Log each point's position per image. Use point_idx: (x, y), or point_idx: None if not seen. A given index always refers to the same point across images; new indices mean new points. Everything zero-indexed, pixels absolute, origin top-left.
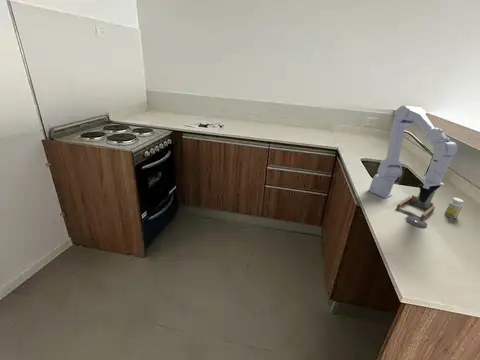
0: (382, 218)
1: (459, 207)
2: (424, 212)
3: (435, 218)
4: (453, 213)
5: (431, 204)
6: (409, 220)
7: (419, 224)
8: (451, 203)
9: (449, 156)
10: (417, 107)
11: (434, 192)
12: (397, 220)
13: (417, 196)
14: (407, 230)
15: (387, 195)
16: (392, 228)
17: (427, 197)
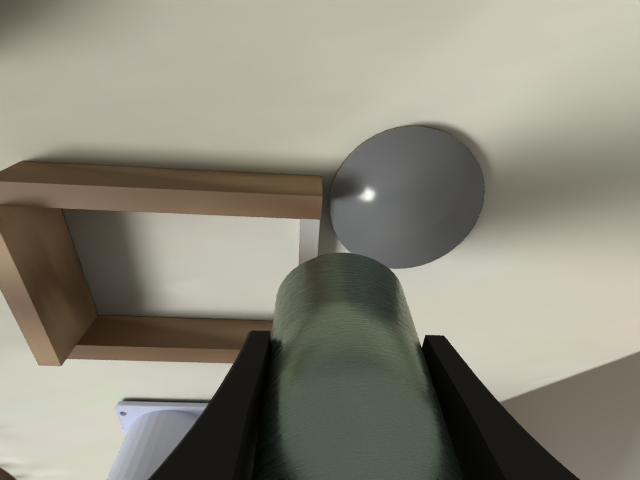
0: (527, 340)
1: None
2: (250, 215)
3: (152, 109)
4: None
5: (12, 221)
6: (440, 242)
7: (448, 177)
8: None
9: None
10: None
11: (399, 467)
12: (483, 286)
13: (28, 340)
14: (594, 207)
15: (185, 414)
16: (630, 273)
17: (500, 408)
